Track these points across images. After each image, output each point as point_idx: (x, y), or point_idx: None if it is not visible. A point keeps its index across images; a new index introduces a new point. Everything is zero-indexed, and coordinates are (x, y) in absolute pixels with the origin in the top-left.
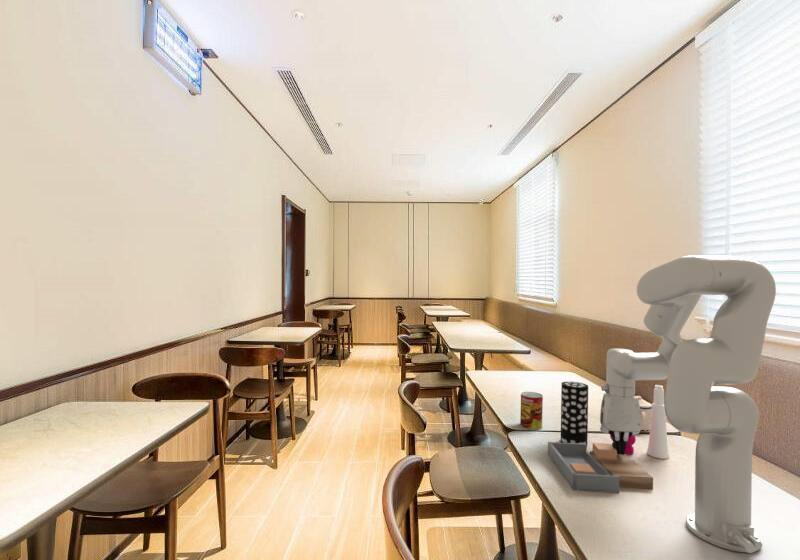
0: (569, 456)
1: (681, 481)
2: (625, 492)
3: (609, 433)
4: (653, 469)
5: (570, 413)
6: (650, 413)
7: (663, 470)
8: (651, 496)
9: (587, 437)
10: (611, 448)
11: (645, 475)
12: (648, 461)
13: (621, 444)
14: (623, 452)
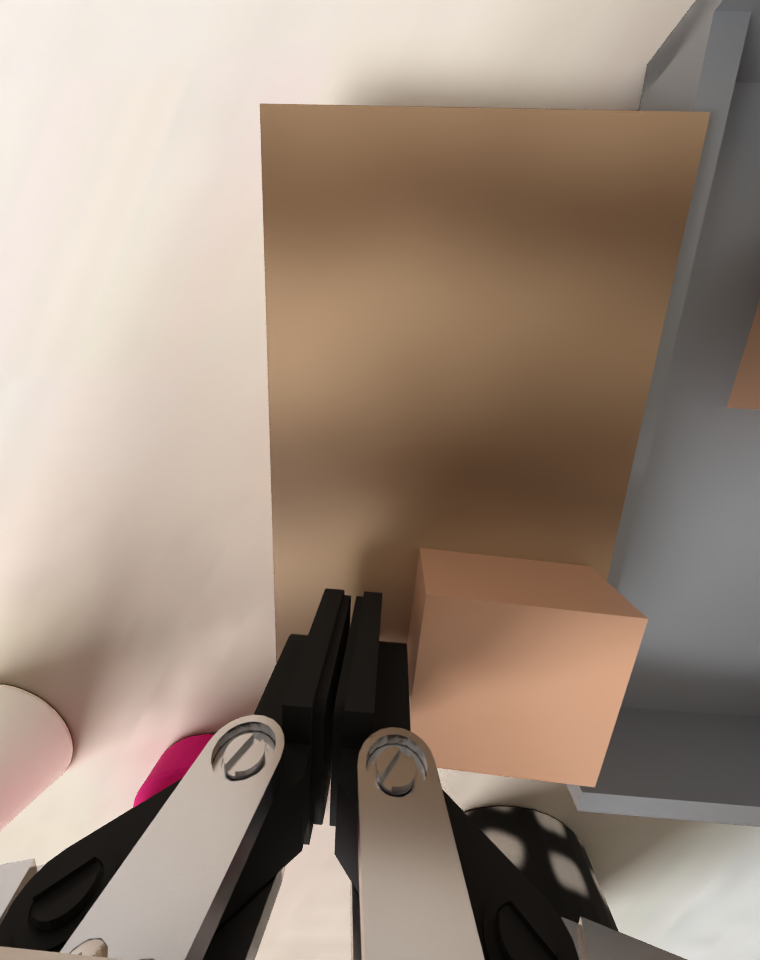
0: (687, 687)
1: (10, 347)
2: (580, 82)
3: (564, 920)
4: (134, 531)
5: None
6: None
7: (69, 519)
8: (383, 19)
9: None
10: (459, 650)
11: (322, 155)
12: (115, 647)
13: (333, 681)
14: (333, 600)
